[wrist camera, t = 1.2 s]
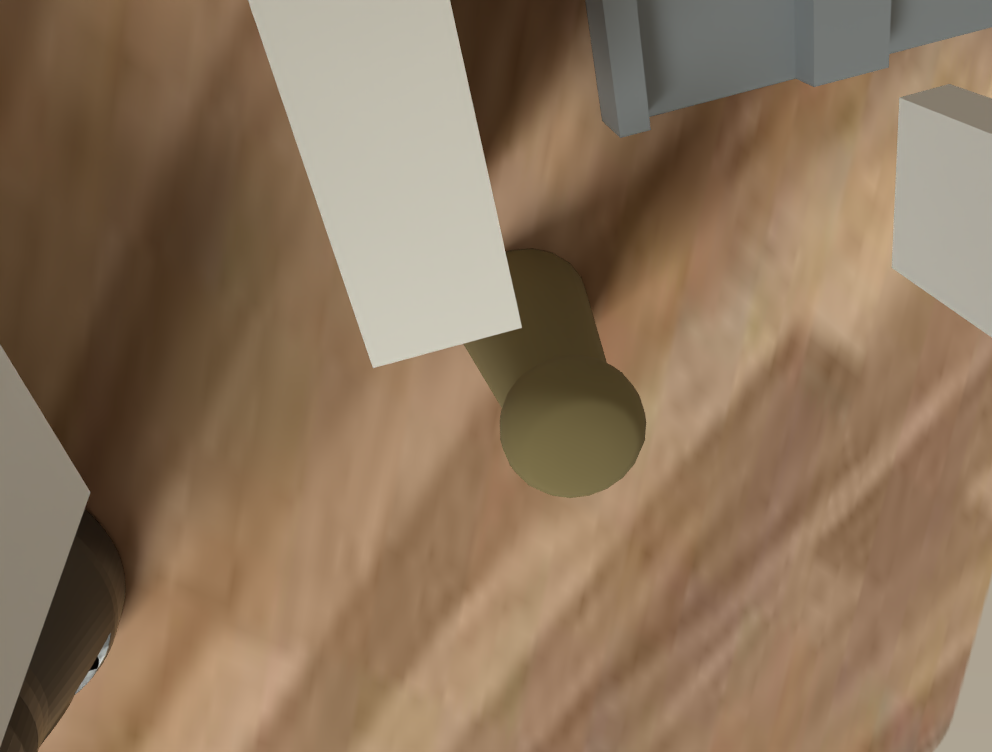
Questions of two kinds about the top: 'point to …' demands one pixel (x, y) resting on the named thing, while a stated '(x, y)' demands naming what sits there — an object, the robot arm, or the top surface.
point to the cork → (559, 385)
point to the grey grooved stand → (751, 46)
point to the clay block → (394, 167)
